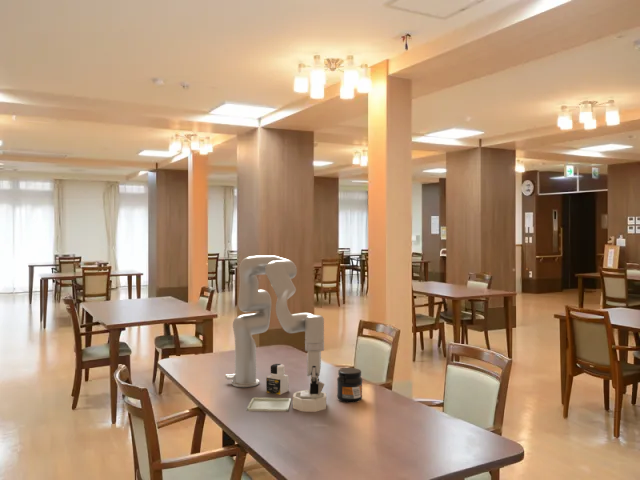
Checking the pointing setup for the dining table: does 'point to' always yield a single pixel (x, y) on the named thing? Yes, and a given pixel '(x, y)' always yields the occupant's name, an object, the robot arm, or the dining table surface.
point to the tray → (269, 404)
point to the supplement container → (349, 385)
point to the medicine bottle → (277, 380)
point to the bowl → (309, 402)
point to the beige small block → (320, 387)
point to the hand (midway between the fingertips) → (314, 390)
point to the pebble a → (305, 395)
